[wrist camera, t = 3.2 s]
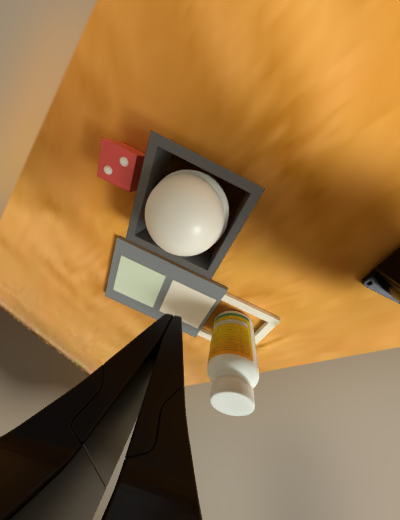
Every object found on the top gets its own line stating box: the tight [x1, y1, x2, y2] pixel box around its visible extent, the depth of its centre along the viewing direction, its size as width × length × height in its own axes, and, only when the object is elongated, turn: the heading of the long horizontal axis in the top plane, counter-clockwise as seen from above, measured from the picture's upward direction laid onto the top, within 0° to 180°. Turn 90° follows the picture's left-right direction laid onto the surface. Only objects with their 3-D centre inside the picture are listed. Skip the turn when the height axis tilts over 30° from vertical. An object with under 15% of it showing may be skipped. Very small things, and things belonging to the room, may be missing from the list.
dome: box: [145, 170, 229, 256], centre depth 14 cm, size 7×7×6 cm
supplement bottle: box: [207, 310, 259, 416], centre depth 20 cm, size 5×5×10 cm
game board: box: [105, 236, 280, 345], centre depth 23 cm, size 22×10×1 cm, turn 66°
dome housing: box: [97, 130, 265, 279], centre depth 16 cm, size 13×9×4 cm
